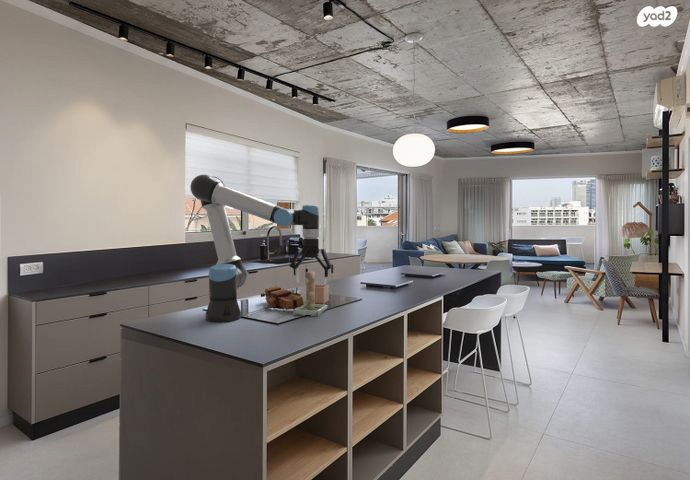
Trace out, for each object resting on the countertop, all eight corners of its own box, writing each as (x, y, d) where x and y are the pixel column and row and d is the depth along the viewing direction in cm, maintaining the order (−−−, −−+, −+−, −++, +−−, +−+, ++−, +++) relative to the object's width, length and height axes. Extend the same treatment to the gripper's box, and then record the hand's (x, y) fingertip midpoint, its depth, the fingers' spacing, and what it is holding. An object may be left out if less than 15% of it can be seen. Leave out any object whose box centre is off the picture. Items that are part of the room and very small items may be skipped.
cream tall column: (305, 311, 200) (304, 272, 199) (308, 309, 204) (307, 271, 203) (313, 311, 199) (312, 273, 198) (316, 309, 202) (315, 272, 202)
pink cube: (309, 304, 218) (309, 286, 218) (314, 301, 226) (314, 284, 226) (323, 305, 216) (323, 287, 216) (328, 302, 224) (328, 285, 223)
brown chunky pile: (311, 307, 206) (283, 296, 231) (309, 290, 205) (281, 281, 230) (280, 316, 197) (254, 304, 222) (277, 298, 196) (252, 288, 220)
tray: (293, 314, 196) (293, 309, 196) (304, 308, 209) (304, 303, 209) (317, 316, 193) (317, 311, 193) (327, 309, 206) (327, 305, 206)
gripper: (282, 238, 199) (283, 283, 200) (333, 239, 192) (333, 285, 193) (289, 237, 206) (289, 280, 207) (338, 238, 199) (338, 283, 200)
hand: (310, 283), depth 200 cm, fingers open, 13 cm apart
